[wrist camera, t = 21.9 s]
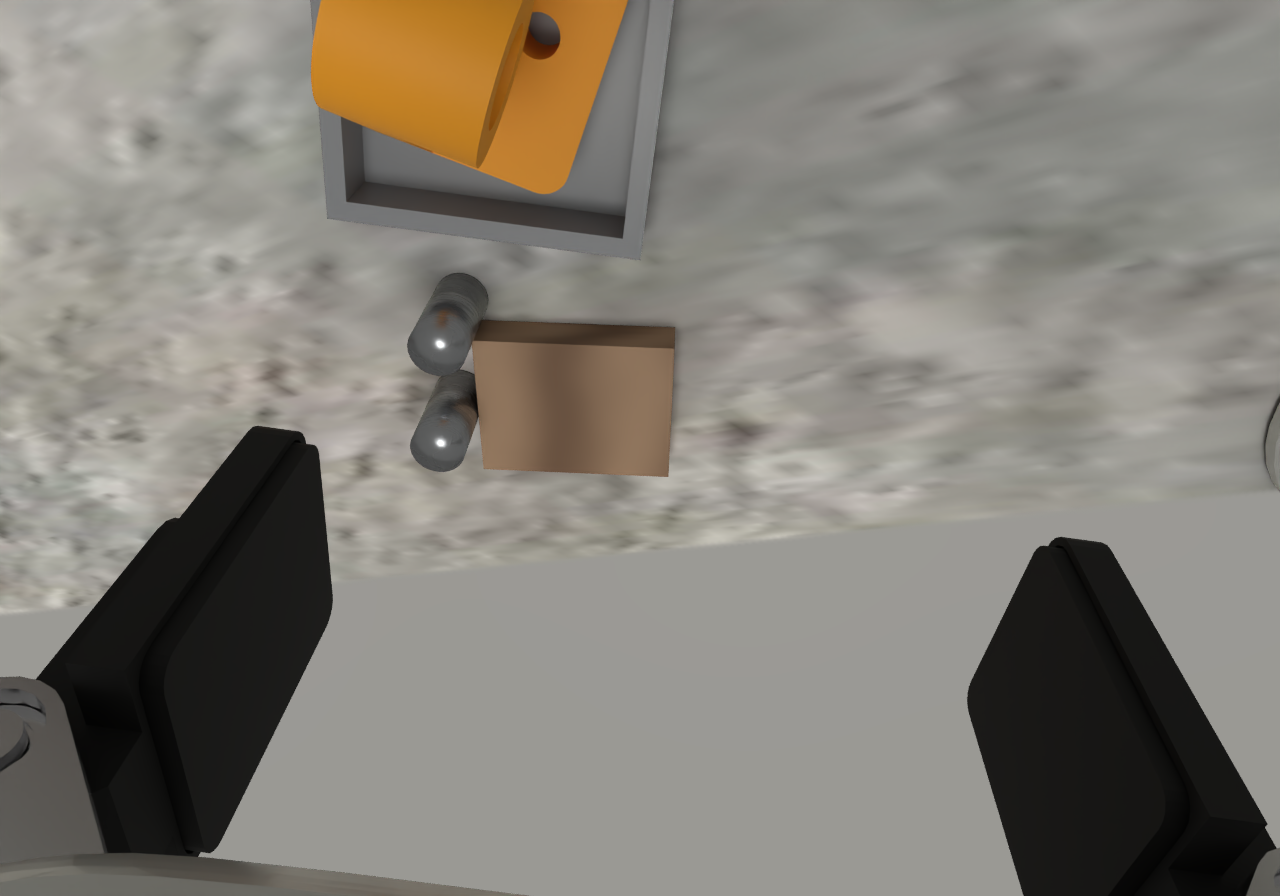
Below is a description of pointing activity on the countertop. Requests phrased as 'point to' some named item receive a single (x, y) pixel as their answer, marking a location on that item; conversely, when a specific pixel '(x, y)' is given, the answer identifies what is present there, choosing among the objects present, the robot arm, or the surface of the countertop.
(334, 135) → the tray
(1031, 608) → the robot arm
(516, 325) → the tan slab
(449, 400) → the peg
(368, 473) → the countertop surface
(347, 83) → the bracket
